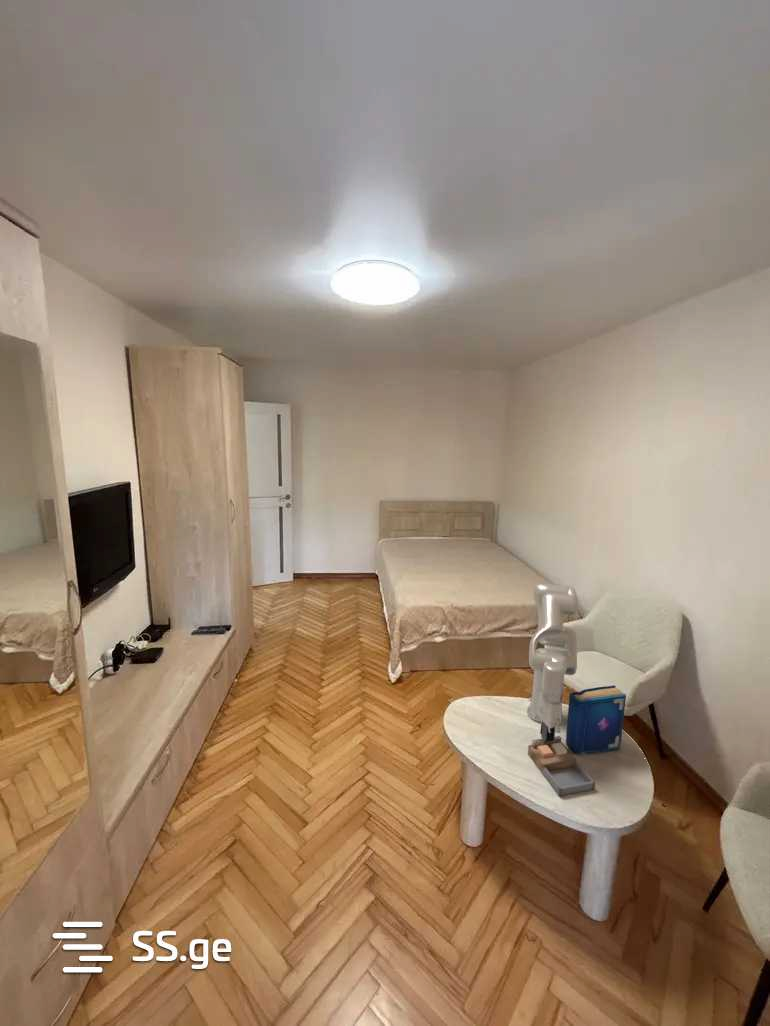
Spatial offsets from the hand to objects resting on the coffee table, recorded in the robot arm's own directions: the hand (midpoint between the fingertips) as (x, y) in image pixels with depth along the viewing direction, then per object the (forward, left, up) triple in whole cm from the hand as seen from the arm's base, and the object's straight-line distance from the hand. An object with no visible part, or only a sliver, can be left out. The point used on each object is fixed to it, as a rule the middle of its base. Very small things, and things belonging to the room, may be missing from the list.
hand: (547, 736), depth 164 cm
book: (+1, +20, -8) cm, 22 cm away
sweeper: (0, 0, -3) cm, 3 cm away
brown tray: (+4, 0, -8) cm, 9 cm away
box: (+14, 0, -8) cm, 16 cm away
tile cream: (+4, +3, -4) cm, 6 cm away
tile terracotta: (+4, -3, -4) cm, 6 cm away
